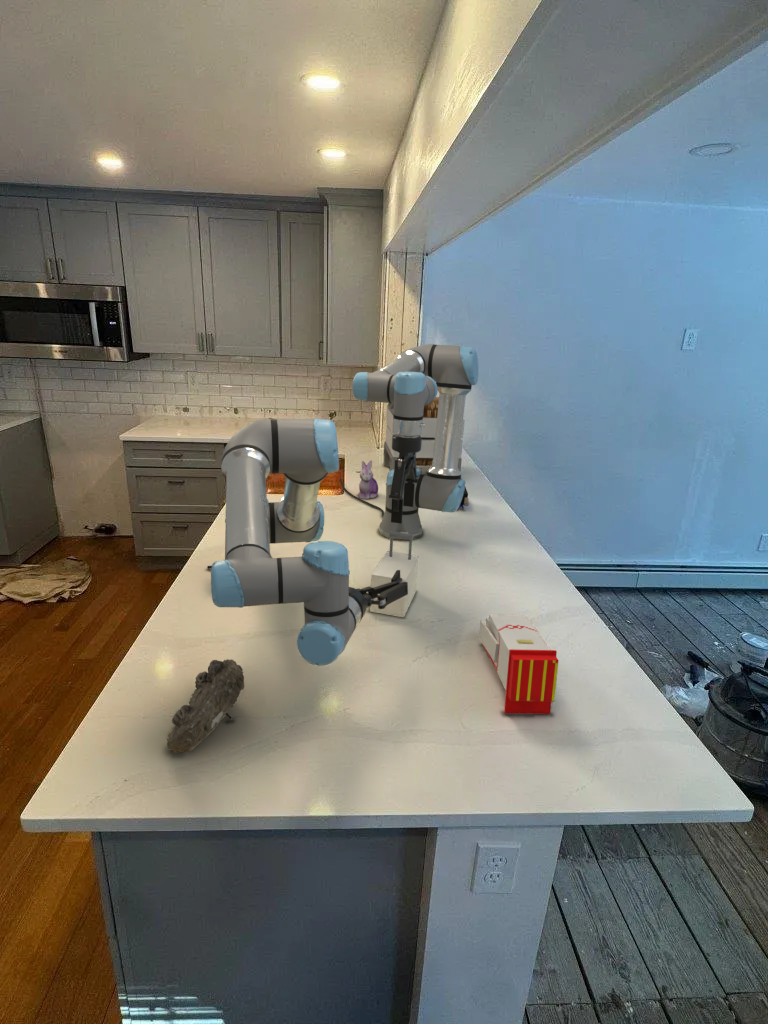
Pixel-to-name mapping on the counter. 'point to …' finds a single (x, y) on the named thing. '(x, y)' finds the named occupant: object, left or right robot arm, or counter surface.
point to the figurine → (367, 482)
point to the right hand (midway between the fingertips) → (402, 514)
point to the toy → (521, 662)
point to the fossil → (206, 705)
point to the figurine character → (464, 499)
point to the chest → (401, 604)
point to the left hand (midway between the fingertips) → (368, 575)
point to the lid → (396, 560)
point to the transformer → (428, 435)
